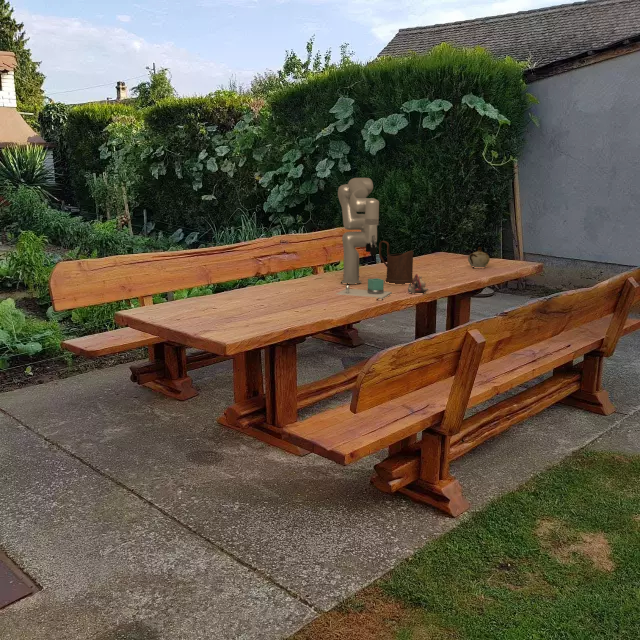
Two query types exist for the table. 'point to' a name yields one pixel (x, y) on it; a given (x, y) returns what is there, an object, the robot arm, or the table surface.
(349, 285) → the stand rod
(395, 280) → the brown pitcher
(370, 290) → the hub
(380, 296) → the board
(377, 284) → the collar
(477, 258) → the sugar bowl
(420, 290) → the brake caliper
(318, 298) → the table surface
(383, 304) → the table surface
